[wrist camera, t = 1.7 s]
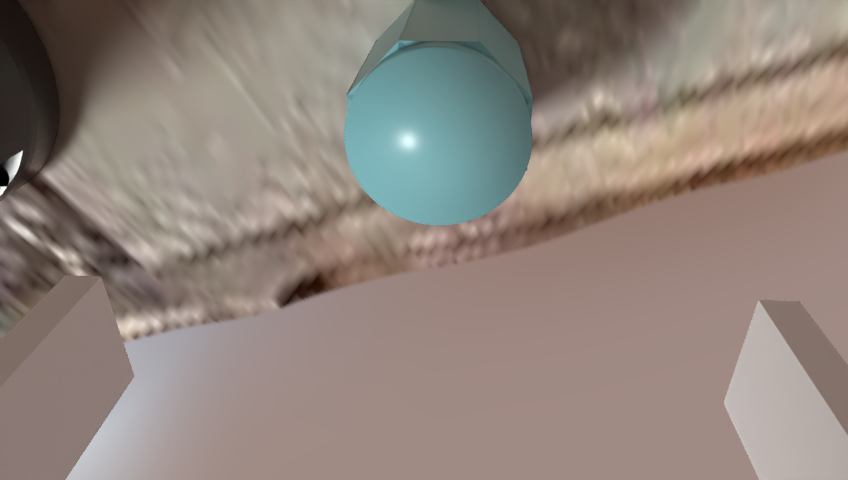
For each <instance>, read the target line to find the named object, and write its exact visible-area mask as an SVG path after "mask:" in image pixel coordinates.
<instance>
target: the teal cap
mask: <svg viewBox="0 0 848 480" xmlns="http://www.w3.org/2000/svg"><path fill="white" fill-rule="evenodd" d="M346 97H347V108H348V113H347V117H346V122H345V129H344V143H345V149H346V155H347V158H348V162H349V165H350V167H351V169H352V172H353V174H354V176H355V178H356V179H357V181H358V183H359V184H360V185H361V187H362V188H363V189H364V191H365V192H366V193H367V194H368V195H369V196H370V197H371V198H372V199H373V200H374V201H375V202H376V203H378V204H379V205H380V206H381V207H383V208H384V209H386V210H387V211H389V212H391V213H392V214H394V215H397V216H399V217H401V218H403V219H406V220H409V221H412V222H416V223H421V224H427V225H452V224H459V223H463V222H467V221H471V220H473V219H476V218H478V217H481V216H483V215H484V214H486V213H488V212H490V211H492V210H493V209H494V208H496V207H497V206H499V205H500V204H501V203H502V202H503V201H504V200H506V199H507V198H508V197H509V196H510V194H511V193H512V192H513V191H514V190H515V189H516V187H517V186H518V184H519V182H520V181H521V179H522V177H523V175H524V173H525V171H526V170H527V166H528V163H529V159H530V155H531V149H532V128H531V115H532V104H533V95H532V91H531V87H530V84H529V80H528V76H527V72H526V69H525V65H524V61H523V57H522V54H521V50H520V46H519V43H518V42H517V41H516V40H515V39H514V37H513V36H512V35H511V34H510V33H509V32H508V31H507V30H506V29H505V28H504V26H503V25H502V24H501V23H500V22H499V21H498V20H497V19H496V18H495V16H494V15H493V14H492V13H491V12H490V11H489V10H488V9H487V8H486V7H485V5H484V4H483V3H482V2H481V1H480V0H414V1H413V3H412V4H411V5H410V6H409V7H408V8H407V9H406V10H405V11H404V12H403V13H402V14H401V15H400V16H399V17H398V19H397V20H396V21H395V22H394V23H393V24H392V25H391V26H390V27H389V28H388V29H387V30H386V31H385V32H384V33H383V35H382V36H381V37H380V38H379V39H378V40H377V41H376V42H375V44H374V45H373V47H372V49H371V51H370V53H369V54H368V56H367V58H366V60H365V62H364V64H363V65H362V67H361V69H360V71H359V73H358V75H357V76H356V78H355V80H354V82H353V84H352V85H351V87H350V89H349V91H348V93H347V95H346Z"/></svg>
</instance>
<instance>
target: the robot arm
mask: <svg viewBox="0 0 848 480" xmlns="http://www.w3.org/2000/svg"><path fill="white" fill-rule="evenodd" d="M57 127H58V98H57V90H56V85H55V81H54V77H53V73H52V69H51V66H50V63H49V61H48V58H47V55H46V53H45V50H44V48H43V46H42V43H41V41H40V39H39V37H38V35H37V33H36V31H35V30H34V28H33V26H32V24H31V23H30V21H29V19H28V18H27V16H26V15H25V13H24V12H23V10H22V8H21V7H20V6H19V4H18V3H17V2H16V0H0V201H1V200H3V199H4V198H5V197H7V196H8V195H10V194H11V193H12V192H14V191H15V190H17V189H18V188H20V187H21V186H22V185H24V184H25V183H27V182H28V181H29V180H30V179H32V178H33V177H34V176H35V175H36V174H37V173H38V171H39V170H40V169H41V168H42V166H43V165H44V164H45V162H46V160H47V158H48V157H49V155H50V152H51V150H52V148H53V145H54V141H55V138H56V133H57ZM133 377H134V373H133V371H132V367H131V364H130V362H129V358H128V355H127V352H126V349H125V347H124V344H123V341H122V338H121V335H120V332H119V329H118V326H117V323H116V320H115V317H114V314H113V311H112V308H111V305H110V302H109V299H108V296H107V293H106V290H105V287H104V284H103V281H102V278H101V277H94V276H66V275H65V276H64V277H63V278H62V279H61V280H60V281H59V282H58V283H57V284H56V285H55V286H54V287H53V288H52V289H51V290H50V291H49V292H48V293H47V294H46V295H45V296H44V297H43V298H42V299H41V300H40V301H39V302H38V303H37V304H36V305H35V306H34V307H33V308H32V309H31V310H30V311H29V312H28V313H27V314H26V315H25V316H24V317H23V318H22V319H21V320H20V321H19V322H18V323H17V324H16V325H15V326H14V327H13V328H12V329H11V330H10V331H9V332H8V333H7V334H6V335H5V336H4V337H3V338H2V339H1V340H0V480H65V479H66V478H67V476H68V475H69V473H70V472H71V470H72V469H73V467H74V466H75V464H76V463H77V461H78V460H79V458H80V456H81V455H82V454H83V452H84V451H85V449H86V448H87V446H88V445H89V443H90V442H91V440H92V439H93V437H94V436H95V434H96V433H97V431H98V430H99V428H100V427H101V425H102V424H103V422H104V421H105V419H106V418H107V416H108V415H109V413H110V412H111V410H112V409H113V407H114V406H115V404H116V403H117V401H118V400H119V398H120V397H121V395H122V394H123V392H124V391H125V389H126V388H127V386H128V385H129V384H130V382H131V380H132V379H133ZM724 405H725V407H726V409H727V411H728V414H729V416H730V418H731V420H732V422H733V424H734V426H735V428H736V431H737V433H738V435H739V437H740V439H741V441H742V443H743V446H744V448H745V450H746V452H747V454H748V456H749V458H750V461H751V463H752V465H753V467H754V469H755V472H756V473H757V476H758V478H759V480H848V365H847V364H846V362H845V361H844V360H843V358H842V357H841V356H840V354H839V353H838V352H837V350H836V349H835V348H834V347H833V345H832V344H831V342H830V341H829V340H828V338H827V337H826V336H825V334H824V333H823V332H822V330H821V329H820V328H819V326H818V325H817V324H816V323H815V321H814V320H813V318H812V317H811V316H810V314H809V313H808V312H807V310H806V309H805V308H804V306H803V305H802V304H801V302H799V301H771V300H758V303H757V306H756V309H755V312H754V315H753V318H752V321H751V324H750V327H749V330H748V333H747V336H746V339H745V341H744V345H743V348H742V350H741V353H740V356H739V359H738V362H737V365H736V368H735V371H734V374H733V377H732V380H731V383H730V386H729V389H728V392H727V395H726V398H725V401H724Z"/></svg>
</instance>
